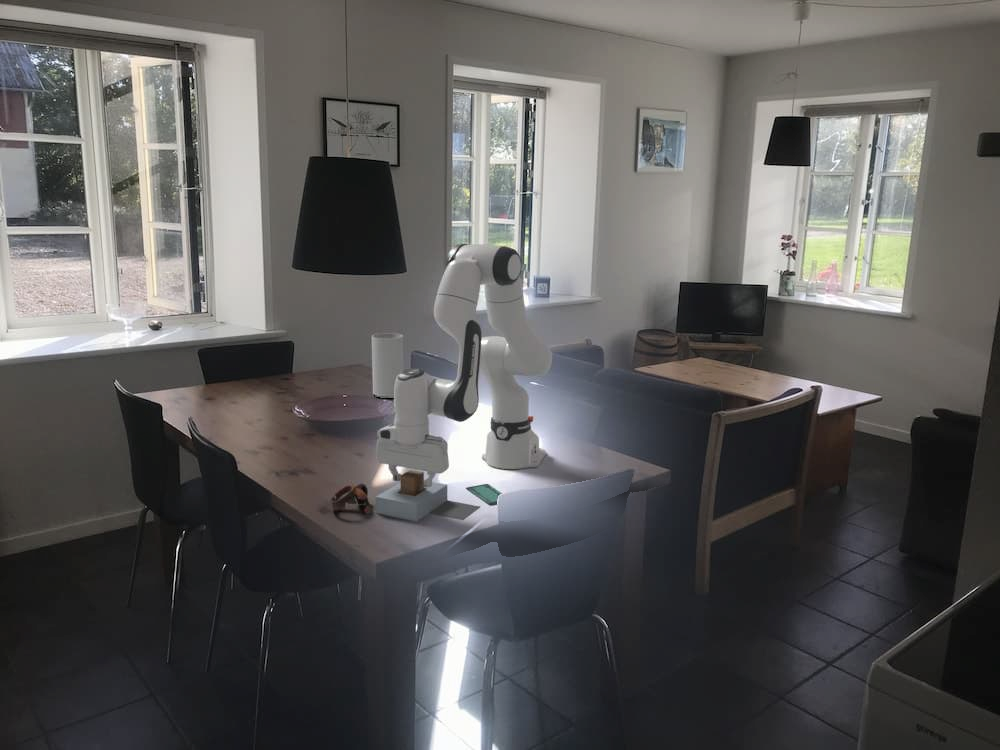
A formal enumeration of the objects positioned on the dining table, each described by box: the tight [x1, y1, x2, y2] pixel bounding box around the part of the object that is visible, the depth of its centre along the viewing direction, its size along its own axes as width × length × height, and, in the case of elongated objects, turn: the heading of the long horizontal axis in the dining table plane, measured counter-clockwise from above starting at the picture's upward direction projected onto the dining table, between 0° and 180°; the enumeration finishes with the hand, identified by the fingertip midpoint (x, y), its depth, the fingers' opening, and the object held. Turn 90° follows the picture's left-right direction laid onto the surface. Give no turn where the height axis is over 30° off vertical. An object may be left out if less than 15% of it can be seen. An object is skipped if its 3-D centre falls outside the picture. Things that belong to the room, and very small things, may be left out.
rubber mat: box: [428, 499, 481, 521], centre depth 207 cm, size 10×10×1 cm
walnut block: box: [399, 469, 425, 496], centre depth 208 cm, size 5×4×9 cm
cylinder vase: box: [371, 332, 404, 397], centre depth 325 cm, size 12×12×25 cm
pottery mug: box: [329, 483, 373, 515], centre depth 206 cm, size 12×10×8 cm
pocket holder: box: [375, 481, 448, 522], centre depth 208 cm, size 16×12×5 cm
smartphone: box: [465, 483, 503, 507], centre depth 218 cm, size 7×1×15 cm
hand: (412, 483), depth 207 cm, fingers open, 8 cm apart
